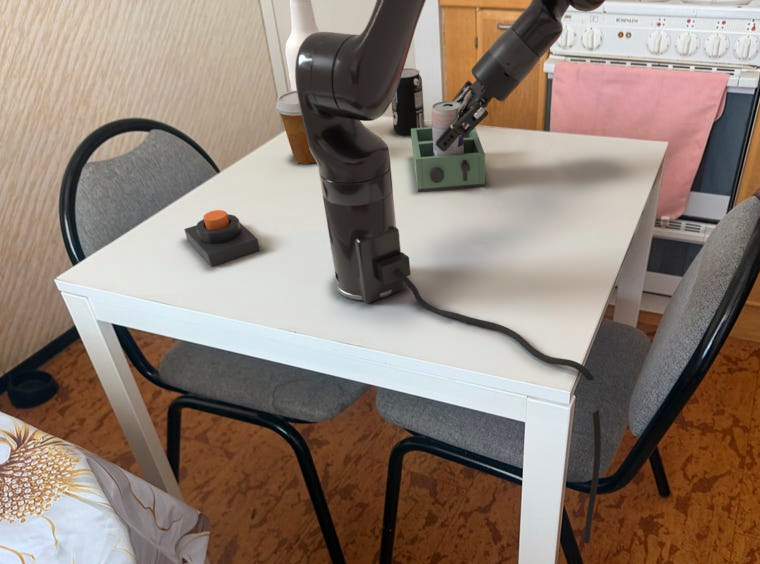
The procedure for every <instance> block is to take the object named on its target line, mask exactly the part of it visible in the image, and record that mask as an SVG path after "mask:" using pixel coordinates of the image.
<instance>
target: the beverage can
mask: <svg viewBox="0 0 760 564" xmlns="http://www.w3.org/2000/svg"><path fill="white" fill-rule="evenodd" d="M423 91H424V89H423V78H422V75H420V70H419V69H417V68H411V67H407V68H405V67H404V69H403V72H402V75H401V78H400V82H399V85H398V87H397V90H396V93H395V95H394V97H393V99H392V102H391V110H392V111H391V112H392V124H393V130H394V131H395V132H396V133H397V134H398V135H400V136H407V137H409V136H411V129H412V128H424V127H426V122H425V109H424V108H425V107H424V93H423Z"/></svg>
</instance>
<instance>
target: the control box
mask: <svg viewBox="0 0 760 564" xmlns="http://www.w3.org/2000/svg"><path fill="white" fill-rule="evenodd" d="M227 215H228V219H229V225H228V226H226V227H224V228H221V229H216V230H209V229H207V228H206V225H205V222H204V218H203V219H201V220H199V221H198V222H197V223H196V225H193V226H190V227H187V228H184V233H185V236H186V239H187V242H188V243H189V244H190V245H191V246H192V247H193V248H194V250H195V251H196V252H197V253H198V254H199V255H200V256H201V258H203V260H204V261H205V262H206V263H207V264H208V265H209V266H210V267H211V268H213V267H217V266H219V265H222V264H224V263H228V262H231V261H234V260H236V259H239V258H242V257H245V256H249V255H251V254H255V253H257V252H260V251H261V249H260V245H259V239H258V238H257V236H255V235H254V234H253V233H252V232H250V230H249V229H248V228H246V227H245V225H243V224H242V223H241V222H240V219H239V218H238V216H236V215H233V214H229V213H227Z"/></svg>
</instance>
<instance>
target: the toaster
mask: <svg viewBox="0 0 760 564" xmlns="http://www.w3.org/2000/svg"><path fill="white" fill-rule="evenodd" d="M463 125H464V123H463ZM410 136H411V137H410V139H411V149H412V161H413V169H414V175H415V181H416V183H415V184H416V191H417V192H418V193H422V192H432V191H435V192H436V191H447V190H456V189H457V190H459V189H471V188H481V187H482V188H483V187H485V186H486V153H485V151H484V148H483V145H482V143H481V140H480V136H479V134H478V131H477V129H476V127H475V128H474V129H473V130H472V131H471V132H470V133H469V134H468V135H467V136H466V137H464V138H463V145H464V154H454V155H442V156H434V150H433V133H432V126H427V127H426V126H425V127H424V128H412V129H411V135H410Z"/></svg>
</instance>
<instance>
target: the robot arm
mask: <svg viewBox="0 0 760 564" xmlns="http://www.w3.org/2000/svg"><path fill="white" fill-rule="evenodd" d="M426 1H427V0H376V1H375V4H374V7H373V9H372V13H371V15H370V17H369V19H368V22H367V24H366V26H365V27H364V29H363V31H362V32H361V33H360V34H352V33H344V32H343V33H342V32H334V31H333V32H332V31H319V32H316V33H313V34H311V35H309V36H308V37H307V38H306V39H305V40H304V41H303V43H302V44H301V46H300V48H299V51H298V54H297V58H296V65H295V81H296V89H297V95H298V100H299V105H300V109H301V114H302V118H303V123H304V127H305V132H306V137H307V141H308V145H309V149H310V151H311V153H312V155H313V157H314V159H315V160H316V164H317V169H318V176H319V182H320V188H321V193H322V202H323V207H324V213H325V219H326V227H327V232H328V238H329V239H328V240H329V245H330V250H331V257H332V262H333V263H332V265H333V270H334V275H335V285H336V286H335V287H336V290H337V291H338V293H339V294H340V295H341V296H343V297H345V298H347V299H351V300H356V301H362V302H363V303H365V304H371V303H373V302H376V301H378V300H380V299H383V298H385V297H386V298H387V297H388V296H390V295H393V294H395V293H398V292H400V291H402V290H404V289H405V286H406V287H407V288H408V289H409V290H410V291H411V293H412V295H413V297H414V299H415V300H416V302H417V303H418V304H419V305H420V306H421V307H422V308H423V309H424V310H426V311H428V312H431V313H432V314H433V313H434V314H436V315H439V316H441V317H444V318H449V319H454V320H456V321H457V320H458V321H461V322H463V323H467V324H471V325H475V326H480V327H484V328H488V329H491V330H494V331H498V332H501V333H503V334H505V335H507V336H508V337H510V338H512V339H514V340H515V341H516V342H517V343H518V344H519V345H521V346H522V347H523V348H524V349H525V350H526V351H527V352H528V353H529V354H531V355H532V356H533V357H535V358H537V359H538V360H540V361H542V362H545V363H548V364H553V365H557V366H564V367H570V368H571V369H575V370H577V371H578V372H579V373H580V374H582V375H583V376H584V378H585V379H586V380H588V381H594V380H595V379H594V376H593V375H592V373H591V372H590V371H589V369H588V368H586V366H584V365H583V364H581V363H579V362H577V361H575V360H572V359H567V358H560V357H553V356H550V355H547V354H544V353H542V352H541V351H539V350H538V349H536V348H535V347H534V346H533V345H531V344H530V343H529V342H528V341H527V340H526V339H525V338H524V337H522V336H521V335H520V334H519V333H517V331H514V330H513V329H510V328H509V327H507V326H504V325H501V324H499V323H497V322H491V321H488V320H483V319H479V318H474V317H471V316H467V315H464V314H461V313H457V312H454V311H448V310H443V309H440V308H437V307H435V306H433V305H431V304H430V303H428V302H426V301H425V300H424V299H423V297H422V296H421V293H420V292H419V290H418V288H417V287H416V285H414V283H413V282H412V281H411V280H410V279H409V277H410V276H411V264H410V263H411V262H410V256H408V255H407V254H406V253H404V252H403V251H402V250H401V240H400V231H399V229H398V227H397V222H396V221H397V220H396V219H397V218H396V210H395V209H396V208H395V199H394V189H393V177H392V166H391V153H390V149H389V146H388V144H387V143H386V141H385V140H383V138H381V137H379V136H378V135H377V134H375V133H374V132H372V131H371V130H370V129H368V127H366V126H365V125H364V123H363V122H372V121H376V120H378V119H379V118H381V117H382V116H383V115H384V114H385V113H386V112H387V110H388V109H389V107H390V106H391V104H392V99H393V97H394V95H395V93H396V90H397V87H398V85H399V82H400V78H401V75H402V72H403V69H404V68H405V65H406V63H407V59H408V56H409V51H410V50H411V45H412V43H413V42H412V41H413V39H414V35H415V33H416V28H417V26H418V23H419V20H420V17H421V15H422V12H423V9H424V7H425V4H426ZM605 2H606V0H531V1H530V3H529V4H528V6H526V8H525V9H524V10H523V11H522V13H521V14H520V15H519V16H518V17H517V18H516V20H515V21H513V23H512V24H511V25H510V26H509V28H507V29H506V30H505V31H504V32H502V34H500V35H499V37H498V38H497V39H496V40H495V41H494V42H493V43H492V45H491V46H490V47H489V48H488V49H487V50H486V51H485V53H484V54H483V55H482V56H481V57H480V59H479V60H478V61H477V62H476V63H475V64H474V65H473V67H472V68H471V74H472V76H473V77H474V78H475V81H473V83H472V82H471V80H466V81H465V83H464V84H463V86H462V87H461V88H460V90H459V91H458V92H457V93H456V95H455V96H454V97H453V98H452V100H451V101H454V102H458V103H460V104H461V105H460V107H459V108H458V110H457V111H456V117H455V119H454V120H453V122H452V123H451V124H450V126H449V127H448V128H447V129H446V130H445V131H444V133H443V134H442V135H441V136H440V137H439V138H438V139H437V140H436V142H435V143H436V146H437V147H438V148H439V149H440V150H442V151H446V150H447V149H448V148H449V146H450V145H451V144H452V143H453V142H454V141H455V140H456V139H457V138H458V136H460V137H461V136H462V137H463V138H464V137H466V136H467V135H468V134H469V133H470V132H471V131H472V130H473V129H474V128H475V129H476V127H477V126H478V125H479V124H480V123H481V122H482V121H484V119H486V117H488V115H489V111H488V110H487V109H488V105H489V103H490V102H491V101H492V99H496V100H497V101H498V102H505V101H506V100H507V98H508V97H510V95H511V94H512V93H513V92H514V91H515V90H516V89H517V87H518V86H519V85H520V84H521V83H522V82H523V81H524V80H525V79H526V78H527V77H528V76H529V74H530V73H531V72H532V71H533V69H534V68H535V67H536V66H537V64H538V62H539V61H540V60H541V58H543V57H544V55H545V54H546V53H547V52H548V51H549V50H550V49H551V48H552V47H553V46H554V44H555V43H556V42H557V41H558V40H559V39H560V38H561V36H562V34H563V31H564V25H563V23H562V19H563V17H564V15H565V14H566V12H567V10H568V9H569V8H570V6H571V8H573V9H574V10H576V11H579V12H583V13H588V12H592V11H595V10H598V9H599V8H600V7H601V6H602V5H603V4H604V3H605ZM462 124H464V125H463V127H462V126H461V125H462ZM600 417H601V416H600V409H597V410H596V411H593V412H592V424H593V440H594V441H593V442H594V443H593V444H594V445H593V467H592V477H591V485H590V491H589V498H588V504H587V510H586V517H585V524H584V534H583V543H584V544H589V543H590V541H591V532H592V525H593V524H592V523H593V516H594V510H595V503H596V497H597V491H598V485H599V478H600V470H601V468H600V467H601V454H602V438H601V437H602V436H601V435H602V434H601V432H602V431H601V419H600Z"/></svg>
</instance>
